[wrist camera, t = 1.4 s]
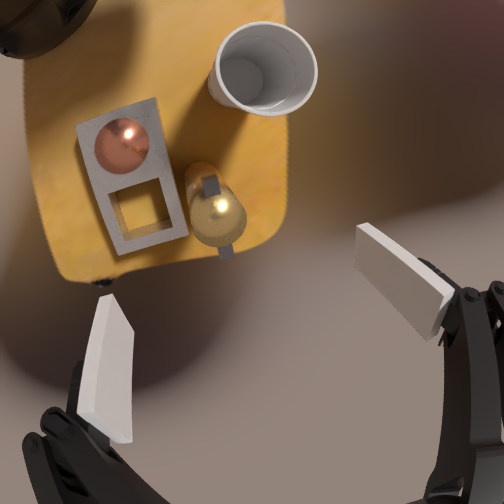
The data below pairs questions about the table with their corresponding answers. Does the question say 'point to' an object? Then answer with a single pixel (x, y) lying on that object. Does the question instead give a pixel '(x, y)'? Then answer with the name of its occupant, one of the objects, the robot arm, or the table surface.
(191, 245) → the table surface
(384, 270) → the robot arm
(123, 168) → the plate with copper dome
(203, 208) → the brass cylinder with tabs
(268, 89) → the cup
